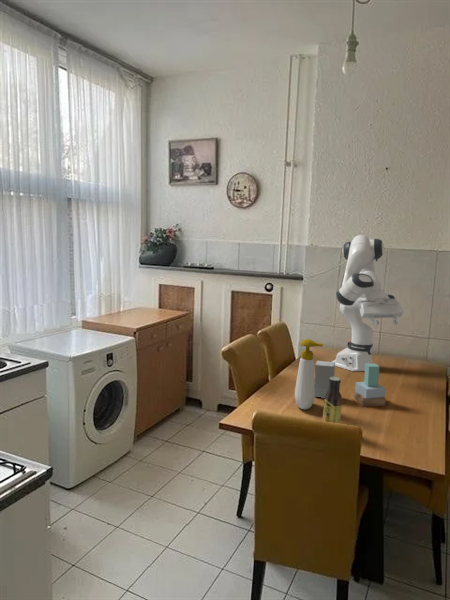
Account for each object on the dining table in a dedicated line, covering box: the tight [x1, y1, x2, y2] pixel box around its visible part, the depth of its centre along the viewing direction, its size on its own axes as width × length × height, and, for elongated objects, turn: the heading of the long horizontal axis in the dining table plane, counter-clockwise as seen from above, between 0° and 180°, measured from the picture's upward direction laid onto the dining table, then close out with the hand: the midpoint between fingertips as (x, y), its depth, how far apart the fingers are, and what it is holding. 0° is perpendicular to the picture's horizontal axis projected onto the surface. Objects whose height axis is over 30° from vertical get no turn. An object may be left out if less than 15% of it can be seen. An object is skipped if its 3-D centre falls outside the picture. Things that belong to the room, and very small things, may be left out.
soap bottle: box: [294, 338, 324, 410], centre depth 181 cm, size 13×10×29 cm
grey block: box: [354, 381, 386, 398], centre depth 191 cm, size 9×9×4 cm
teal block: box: [363, 363, 380, 387], centre depth 190 cm, size 4×4×9 cm
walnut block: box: [352, 389, 386, 407], centre depth 191 cm, size 10×10×4 cm
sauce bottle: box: [322, 376, 342, 423], centre depth 161 cm, size 6×6×20 cm
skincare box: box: [314, 360, 336, 399], centre depth 195 cm, size 8×7×16 cm
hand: (386, 324), depth 201 cm, fingers open, 8 cm apart
